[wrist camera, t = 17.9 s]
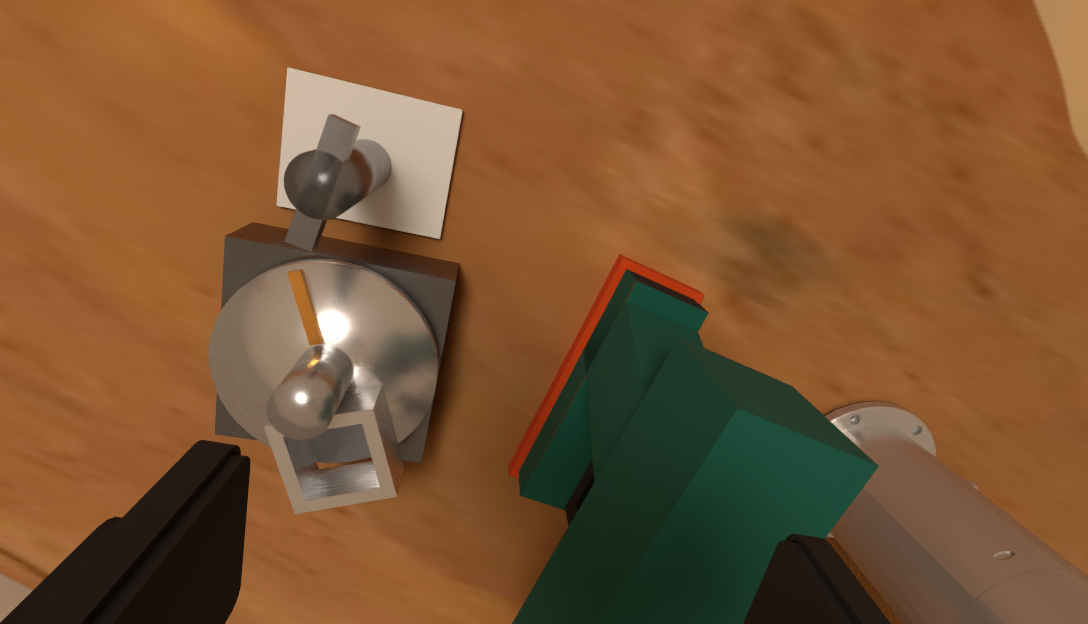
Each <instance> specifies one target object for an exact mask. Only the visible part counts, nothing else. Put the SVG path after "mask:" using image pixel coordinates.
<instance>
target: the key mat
mask: <svg viewBox="0 0 1088 624" xmlns="http://www.w3.org/2000/svg"><path fill="white" fill-rule="evenodd" d="M462 112H463V110H461V109H457V108H452V107H448V106H444V105H440V104H436V103H432V102H428V101H424V100H420V99H416V98H411V97H407V96H403V95H399V94H395V93H391V92H387V91H383V90H379V89H375V88H371V87H366V86H362V85H358V84H354V83H350V82H346V81H342V80H338V79H334V78H330V77H325V76H321V75H317V74H313V73H309V72H305V71H301V70H297V69H293V68H288V69H287V81H286V94H285V106H284V119H283V131H282V144H281V156H280V169H279V181H278V194H277V206H281V207H286V208H291V209H296V208H295V207H294V206H293V205H292V204H291V202H290V201H289V199H288V197H287V195H286V192H285V189H284V174H285V170H286V168H287V166H288V164H289V163H290V162H291V160H292V159H294V158H295V157H296V156H297V155H299V154H301V153H304V152H307V151H311V150H315V149H317V146H318V143H319V140H320V137H321V134H322V131H323V129H324V126H325V123H326V120H327V117H328V115H330V114H335V115H337V116H339V117H341V118H343V119H345V120H348V121H350V122H352V123H354V124H356V125H358V126H360V127H361V128H360V131H359V133H358V136H357V139H356V140H359V139H368V140H372V141H375V142H377V143H378V144H380V145H381V146H382V147H383V148H384V149H385V150H386V151H387V153H388V155H389V157H390V160H391V174H390V177H389V179H388V180H387V182H386V183H385V184H384V185H382V186H381V187H380V188H378V189H377V190H375V191H374V192H373V193H371V194H370V195H368V196H367V197H365V198H364V199H363V200H361V201H360V202H358V203H357V204H356V205H354V206H353V207H351V208H350V209H348V210H347V211H346V212H344V213H343V214H341V215H340V216H338V217H336V218H339V219H344V220H349V221H354V222H359V223H364V224H369V225H374V226H378V227H383V228H388V229H393V230H398V231H403V232H408V233H413V234H418V235H422V236H427V237H432V238H437V239H440V237H441V231H442V225H443V220H444V214H445V208H446V203H447V197H448V191H449V186H450V180H451V174H452V169H453V163H454V157H455V152H456V146H457V140H458V135H459V129H460V123H461V118H462Z"/></svg>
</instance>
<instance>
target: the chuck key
mask: <svg viewBox="0 0 1088 624" xmlns="http://www.w3.org/2000/svg"><path fill="white" fill-rule="evenodd" d="M360 128H361V127H360V126H358V125H356V124H354V123H352V122H350V121H348V120H345V119H343V118H341V117H339V116H337V115H335V114H330V115H328V117H327V120H326V123H325V126H324V129H323V131H322V134H321V137H320V140H319V143H318V146H317V149H315V150H311V151H307V152H304V153H301V154H299V155H297V156H296V157H295V158H294V159H292V160H291V162H290V163H289V164H288V166H287V168H286V170H285V174H284V189H285V192H286V195H287V197H288V199H289V201H290V202H291V204H292V205H293V206H294V207H295V208H296V210H295V213H294V216H293V219H292V222H291V224H290V227H289V230H288V233H287V236H286V239H285V242H288V243H290V244H292V245H295V246H297V247H300V248H302V249H305V250H307V251H310V252H312V251H313V250H314V249H315V248H317V246H318V244H319V241H320V238H321V235H322V233H323V230H324V227H325V224H326V222H327V220H328V219H333V218H336V217H338V216H340V215H341V214H343V213H344V212H346V211H347V210H348V209H350V208H351V207H353V206H354V205H356V204H357V203H358V202H360V201H361V200H363V199H364V198H365V197H367V196H368V195H370V194H371V193H373V192H374V191H375V190H377V189H378V188H380V187H381V186H382V185H384V184H385V183H386V182H387V180H388V179H389V177H390V174H391V160H390V157H389V155H388V153H387V151H386V150H385V149H384V148H383V147H382V146H381V145H380V144H378V143H377V142H375V141H372V140H368V139H359V140H356V139H357V136H358V133H359V131H360Z"/></svg>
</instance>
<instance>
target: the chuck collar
mask: <svg viewBox="0 0 1088 624" xmlns="http://www.w3.org/2000/svg"><path fill="white" fill-rule="evenodd" d="M209 365H210V372H211V376H212V380H213V383H214V386H215V389H216V391H217V393H218V395H219V397H220V400H221V401H222V403H223V404H224V406H225V407H226V409H227V411H228V412H229V413H230V414H231V416H232V417H233V418H234V419H235V420H236V422H237V423H238V424H239V425H240V426H241V427H243V428H244V429H245V430H246V431H247V432H248V433H249V434H251V435H252V436H253V437H255V438H256V439H257V440H259V441H260V442H262V443H264V444H265V445H267V446H269V447H270V448H272V451H273V454H274V457H275V460H276V462H277V465H278V468H279V471H280V474H281V476H282V479H283V482H284V485H285V488H286V490H287V493H288V496H289V499H290V502H291V504H292V507H293V510H294V513H295V514H298V513H304V512H310V511H316V510H322V509H328V508H334V507H340V506H346V505H351V504H357V503H363V502H369V501H375V500H381V499H387V498H393V497H397V495H398V490H399V486H400V482H401V478H402V473H403V469H404V464H403V460H402V457H401V453H400V449H399V445H398V443H399V442H401V441H402V440H403V439H405V438H406V437H407V436H408V435H409V434H410V433H411V432H412V431H413V430H414V429H415V428H416V427H417V426H418V425H419V423H420V422H421V420H422V419H423V417H424V416H425V414H426V413H427V411H428V409H429V406H430V404H431V402H432V399H433V396H434V393H435V389H436V383H437V377H438V352H437V345H436V342H435V339H434V335H433V332H432V330H431V328H430V326H429V323H428V321H427V319H426V318H425V316H424V315H423V313H422V311H421V310H420V308H419V307H418V306H417V305H416V304H415V302H414V301H413V300H412V299H411V298H410V297H409V296H408V295H407V294H406V293H405V292H404V291H403V290H402V289H401V288H400V287H398V286H397V285H395V284H394V283H393V282H391V281H390V280H389V279H387V278H385V277H383V276H382V275H380V274H378V273H376V272H374V271H372V270H370V269H367V268H365V267H362V266H359V265H356V264H352V263H349V262H345V261H339V260H332V259H306V260H298V261H293V262H289V263H285V264H282V265H279V266H276V267H273V268H271V269H269V270H267V271H265V272H263V273H261V274H259V275H258V276H256V277H255V278H254V279H252V280H251V281H250V282H248V283H247V284H245V285H244V286H243V287H241V288H240V289H239V290H238V291H237V292H236V293H235V294H234V295H233V296H232V297H231V298H230V299H229V300H228V302H227V303H226V304H225V306H224V307H223V308H222V310H221V312H220V314H219V316H218V318H217V319H216V321H215V324H214V327H213V330H212V333H211V338H210V344H209ZM369 457H372V460H373V461H368V462H362V463H356V464H350V465H344V466H338V467H332V468H326V469H320V470H319V467H318V464H317V462H324V463H342V462H351V461H357V460H361V459H365V458H369Z"/></svg>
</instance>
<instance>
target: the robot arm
mask: <svg viewBox="0 0 1088 624" xmlns="http://www.w3.org/2000/svg"><path fill="white" fill-rule="evenodd" d="M825 417H826V418H827V419H828V420H829V421H830V422H831V423H833V424H834V425H835V426H836V427H837V428H838V429H839V430H840V431H841V432H842V433H843V434H845V435H846V436H847V437H848V438H849V439H850V440H851V441H852V442H853V443H854V444H855V445H857V446H858V447H859V448H860V449H861V450H862V451H863V452H864V453H865V454H866V455H867V456H868V457H870V458H871V459H872V460H873V461H874V462H875V463H876V464H877V465H878V466H879V467H878V469H877V470H876V471H875V473H874V474H873V475H872V477H871V478H870V479H869V481H868V482H867V483H866V485H865V486H864V487H863V489H862V490H861V491H860V493H859V494H858V495H857V497H856V498H855V499H854V501H853V502H852V503H851V505H850V506H849V507H848V509H847V510H846V511H845V513H844V514H843V515H842V517H841V518H840V519H839V521H838V522H837V523H836V525H835V526H834V527H833V529H832V530H831V531H830V533H829V534H828V535H827V537H831V538H835V539H836V540H837V542H838V543H839V544H840V545H841V547H842V548H843V549H844V550H845V551H846V553H847V554H848V555H849V556H850V558H851V559H852V560H853V561H854V563H855V564H856V565H857V566H858V568H859V569H860V570H861V571H862V573H863V574H864V575H865V576H866V578H867V579H868V580H869V581H870V583H871V584H872V585H873V586H874V588H875V589H876V590H877V591H878V593H879V594H880V595H881V596H882V598H883V599H884V600H885V601H886V602H887V604H888V605H889V606H890V607H891V609H892V610H893V611H894V612H895V614H896V615H897V616H898V617H899V619H900V620H901V621H902V622H903V624H1088V576H1087V575H1086V574H1084V573H1083V572H1082V571H1080V570H1079V569H1078V568H1077V567H1075V566H1074V565H1073V564H1071V563H1070V562H1069V561H1068V560H1066V559H1065V558H1064V557H1063V556H1061V555H1060V554H1059V553H1057V552H1056V551H1055V550H1054V549H1052V548H1051V547H1050V546H1048V545H1047V544H1046V543H1045V542H1043V541H1042V540H1041V539H1040V538H1038V537H1037V536H1036V535H1034V534H1033V533H1032V532H1031V531H1029V530H1028V529H1027V528H1025V527H1024V526H1023V525H1022V524H1020V523H1019V522H1018V521H1017V520H1015V519H1014V518H1013V517H1011V516H1010V515H1009V514H1008V513H1006V512H1005V511H1004V510H1002V509H1001V508H1000V507H999V506H997V505H996V504H995V503H994V502H992V501H991V500H990V499H988V498H987V497H986V496H985V495H983V494H982V493H981V492H979V491H978V487H977V485H976V484H975V483H973V482H971V481H966V480H964V479H963V478H962V477H960V476H959V475H958V474H956V473H955V472H954V471H953V470H951V469H950V468H949V467H948V466H946V465H945V464H944V463H942V462H941V461H940V460H939V459H937V458H936V446H935V442H934V439H933V436H932V434H931V432H930V431H929V429H928V427H927V426H926V425H925V424H924V423H923V422H922V421H921V420H920V419H919V418H918V417H917V416H915V415H914V414H912V413H911V412H909V411H908V410H906V409H905V408H902V407H900V406H897V405H895V404H891V403H886V402H861V403H856V404H851V405H848V406H845V407H842V408H840V409H837V410H835V411H833V412H831V413H829V414H827V415H825ZM249 475H250V458H249V457H248V456H241V451H240V448H239V447H238V446H237V445H231V444H225V443H219V442H212V441H206V440H200V441H198V442H197V443H196V444H194V445H193V446H192V447H191V448H190V449H189V450H188V451H187V453H186V454H185V455H184V456H183V457H182V458H181V459H180V460H179V461H178V462H177V463H176V464H175V465H174V466H173V467H172V468H171V469H170V470H169V471H168V472H167V473H166V474H165V475H164V476H163V477H162V478H161V479H160V480H159V481H158V482H157V483H156V484H155V485H154V486H153V487H152V488H151V489H150V490H149V491H148V492H147V493H146V494H145V495H144V496H143V497H142V498H141V499H140V500H139V501H138V502H137V503H136V504H135V505H134V506H133V507H132V508H131V509H130V511H129V512H128V513H127V514H126V515H125V516H124V517H123V518H120V517H114V518H111V519H108V520H106V521H105V522H104V523H102V524H101V525H100V526H99V527H97V528H96V529H95V530H94V531H93V532H92V533H91V534H90V535H89V536H88V537H87V538H86V539H85V540H84V541H83V542H82V543H81V544H80V545H79V546H78V547H77V548H76V549H75V550H74V551H73V552H72V553H71V554H70V555H69V556H68V557H67V558H66V559H65V560H64V561H63V562H62V563H61V564H60V565H59V566H58V567H57V568H56V569H55V570H54V571H53V572H52V573H51V574H50V575H48V576H47V577H46V578H45V579H44V580H43V581H42V582H41V583H40V584H39V585H38V586H37V587H36V588H35V589H34V590H33V591H32V592H31V593H30V594H29V595H28V596H27V597H26V598H25V599H24V600H23V601H22V602H21V603H20V604H19V605H18V606H17V607H16V608H15V609H14V610H13V611H12V612H11V613H10V614H9V615H8V616H7V617H6V618H5V619H4V620H3V621H2V622H1V623H0V624H225V622H226V621H227V619H228V617H229V615H230V614H231V612H232V610H233V608H234V606H235V603H236V601H237V598H238V595H239V591H240V586H241V576H242V563H243V550H244V538H245V525H246V513H247V500H248V488H249ZM743 624H890V622H889V621H888V620H887V618H886V617H885V616H884V614H883V613H882V612H881V610H880V609H879V608H878V606H877V605H876V604H875V603H874V601H873V600H872V599H871V597H870V596H869V595H868V593H867V592H866V591H865V589H864V588H863V587H862V585H861V584H860V583H859V581H858V580H857V579H856V578H855V576H854V575H853V574H852V572H851V571H850V570H849V568H848V567H847V566H846V564H845V563H844V562H843V560H842V559H841V558H840V556H839V555H838V554H837V553H836V551H835V550H834V549H833V547H832V546H831V545H830V543H828V542H827V541H826V540H825V539H823V538H819V537H812V536H806V535H800V534H790V535H789V536H788V537H787V538H786V539H785V540H783V541H780V542H779V543H778V544H777V546H776V548H775V550H774V553H773V555H772V557H771V560H770V562H769V564H768V567H767V569H766V571H765V574H764V576H763V578H762V581H761V583H760V585H759V588H758V590H757V592H756V594H755V597H754V599H753V601H752V604H751V606H750V608H749V611H748V613H747V615H746V618H745V620H744V622H743Z"/></svg>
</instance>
